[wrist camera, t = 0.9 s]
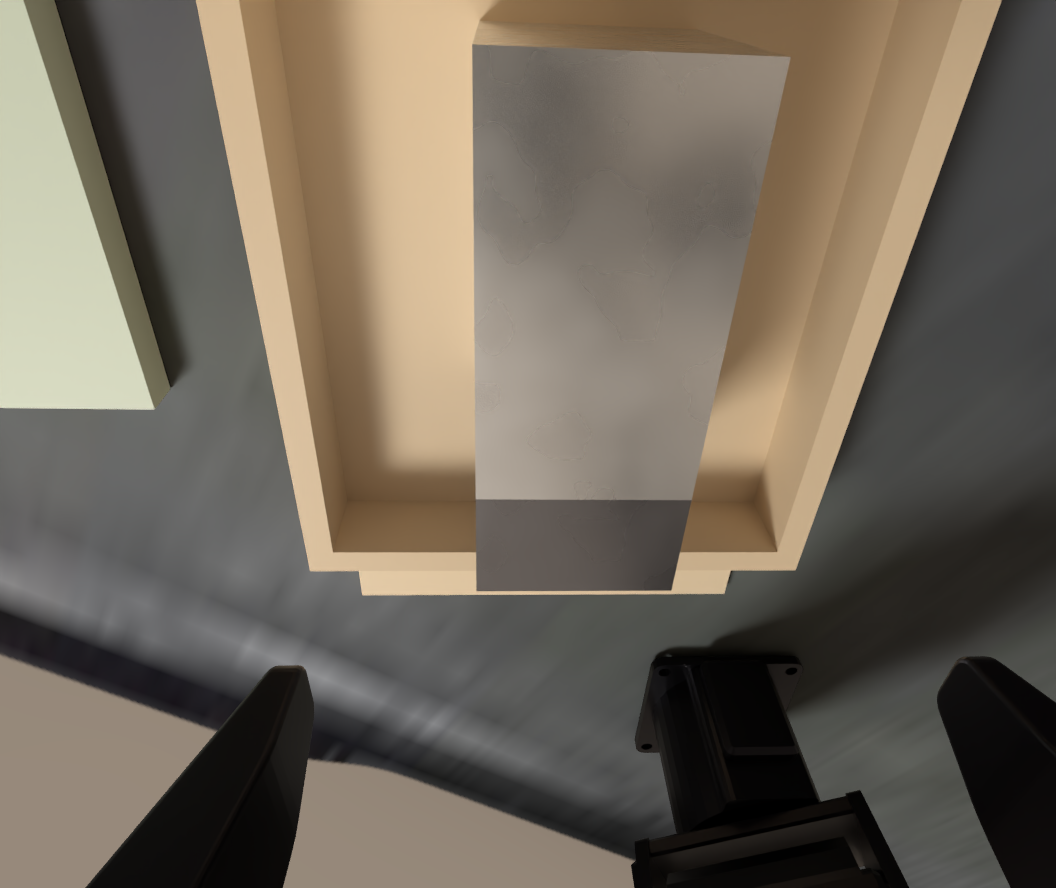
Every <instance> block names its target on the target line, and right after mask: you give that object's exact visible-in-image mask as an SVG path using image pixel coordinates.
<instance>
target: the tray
mask: <svg viewBox="0 0 1056 888" xmlns="http://www.w3.org/2000/svg"><path fill="white" fill-rule="evenodd" d="M1001 1H1002V0H196V3H197V8H198V13H199V18H200V23H201V28H202V33H203V38H204V43H205V48H206V53H207V58H208V63H209V68H210V73H211V78H212V83H213V88H214V93H215V98H216V103H217V108H218V113H219V118H220V123H221V128H222V133H223V138H224V143H225V148H226V153H227V158H228V163H229V168H230V173H231V178H232V183H233V188H234V193H235V198H236V203H237V208H238V213H239V218H240V223H241V228H242V233H243V238H244V243H245V248H246V253H247V258H248V263H249V268H250V273H251V278H252V283H253V288H254V293H255V298H256V303H257V308H258V313H259V318H260V323H261V328H262V333H263V337H264V342H265V347H266V352H267V357H268V362H269V367H270V372H271V377H272V382H273V387H274V392H275V397H276V402H277V407H278V412H279V417H280V422H281V427H282V432H283V437H284V442H285V447H286V452H287V457H288V462H289V467H290V472H291V477H292V482H293V487H294V492H295V497H296V502H297V507H298V512H299V517H300V522H301V527H302V532H303V537H304V542H305V547H306V552H307V557H308V562H309V567H310V571H359V575H360V582H361V589H362V595H541V594H724V592H725V589H726V586H727V582H728V579H729V575H730V572H731V570H796V567H797V565H798V562H799V559H800V556H801V554H802V551H803V548H804V545H805V543H806V540H807V537H808V534H809V531H810V529H811V526H812V523H813V520H814V518H815V515H816V512H817V509H818V507H819V504H820V501H821V498H822V496H823V493H824V490H825V487H826V485H827V482H828V479H829V476H830V473H831V471H832V468H833V465H834V462H835V460H836V457H837V454H838V451H839V449H840V446H841V443H842V440H843V438H844V435H845V432H846V429H847V427H848V424H849V421H850V418H851V415H852V413H853V410H854V407H855V404H856V402H857V399H858V396H859V393H860V391H861V388H862V385H863V382H864V380H865V377H866V374H867V371H868V369H869V366H870V363H871V360H872V357H873V355H874V352H875V349H876V346H877V344H878V341H879V338H880V335H881V333H882V330H883V327H884V324H885V322H886V319H887V316H888V313H889V311H890V308H891V305H892V302H893V299H894V297H895V294H896V291H897V288H898V286H899V283H900V280H901V277H902V275H903V272H904V269H905V266H906V264H907V261H908V258H909V255H910V252H911V250H912V247H913V244H914V241H915V239H916V236H917V233H918V230H919V228H920V225H921V222H922V219H923V217H924V214H925V211H926V208H927V206H928V203H929V200H930V197H931V194H932V192H933V189H934V186H935V183H936V181H937V178H938V175H939V172H940V170H941V167H942V164H943V161H944V159H945V156H946V153H947V150H948V148H949V145H950V142H951V139H952V136H953V134H954V131H955V128H956V125H957V123H958V120H959V117H960V114H961V112H962V109H963V106H964V103H965V101H966V98H967V95H968V92H969V90H970V87H971V84H972V81H973V78H974V76H975V73H976V70H977V67H978V65H979V62H980V59H981V56H982V54H983V51H984V48H985V45H986V43H987V40H988V37H989V34H990V31H991V29H992V26H993V23H994V20H995V18H996V15H997V12H998V9H999V7H1000V4H1001ZM479 20H480V21H505V22H529V23H553V24H577V25H601V26H625V27H649V28H673V29H697V30H701V31H705V32H708V33H711V34H715V35H718V36H721V37H725V38H728V39H732V40H735V41H738V42H742V43H745V44H749V45H752V46H755V47H759V48H762V49H765V50H769V51H772V52H776V53H779V54H782V55H786V56H789V57H791V58H790V62H789V67H788V71H787V76H786V80H785V85H784V89H783V94H782V98H781V102H780V107H779V111H778V116H777V120H776V125H775V129H774V134H773V138H772V143H771V147H770V152H769V156H768V161H767V165H766V170H765V174H764V179H763V183H762V187H761V192H760V196H759V201H758V205H757V210H756V214H755V219H754V223H753V228H752V232H751V237H750V241H749V246H748V250H747V255H746V259H745V264H744V268H743V272H742V277H741V281H740V286H739V290H738V295H737V299H736V304H735V308H734V313H733V317H732V322H731V326H730V331H729V335H728V340H727V344H726V349H725V353H724V357H723V362H722V366H721V371H720V375H719V380H718V384H717V389H716V393H715V398H714V402H713V407H712V411H711V416H710V420H709V425H708V429H707V434H706V438H705V442H704V447H703V451H702V456H701V460H700V465H699V469H698V474H697V478H696V483H695V487H694V492H693V496H692V501H691V505H690V510H689V514H688V519H687V523H686V527H685V532H684V536H683V541H682V545H681V550H680V554H679V559H678V563H677V568H676V572H675V577H674V581H673V586H672V590H671V591H476V474H475V345H474V216H473V87H472V43H473V40H474V37H475V33H476V30H477V27H478V24H479Z"/></svg>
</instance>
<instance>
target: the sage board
mask: <svg viewBox="0 0 1056 888" xmlns="http://www.w3.org/2000/svg"><path fill="white" fill-rule="evenodd" d="M169 390H170V385H169V382H168V379H167V375H166V372H165V369H164V365H163V362H162V358H161V355H160V352H159V348H158V345H157V342H156V338H155V335H154V332H153V328H152V325H151V322H150V318H149V315H148V312H147V308H146V305H145V302H144V298H143V295H142V292H141V288H140V285H139V282H138V278H137V275H136V272H135V268H134V265H133V262H132V258H131V255H130V251H129V248H128V245H127V241H126V238H125V235H124V231H123V228H122V225H121V221H120V218H119V215H118V211H117V208H116V205H115V201H114V198H113V195H112V191H111V188H110V185H109V181H108V178H107V175H106V171H105V168H104V165H103V161H102V158H101V154H100V151H99V148H98V144H97V141H96V138H95V134H94V131H93V128H92V124H91V121H90V118H89V114H88V111H87V108H86V104H85V101H84V98H83V94H82V91H81V88H80V84H79V81H78V78H77V74H76V71H75V68H74V64H73V61H72V57H71V54H70V51H69V47H68V44H67V41H66V37H65V34H64V31H63V27H62V24H61V21H60V17H59V14H58V11H57V7H56V4H55V1H54V0H0V408H60V409H155V408H156V407H157V406H158V404H159V403H160V402H161V401H162V399H163V398H164V397H165V395H166V394H167V393H168V392H169Z"/></svg>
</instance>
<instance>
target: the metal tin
mask: <svg viewBox="0 0 1056 888" xmlns="http://www.w3.org/2000/svg"><path fill="white" fill-rule="evenodd" d="M790 58H791V57H789V56H786V55H782V54H779V53H776V52H772V51H769V50H765V49H762V48H759V47H755V46H752V45H749V44H745V43H742V42H738V41H735V40H732V39H728V38H725V37H721V36H718V35H715V34H711V33H708V32H705V31H701V30H697V29H673V28H649V27H625V26H601V25H577V24H553V23H529V22H505V21H480V20H479V24H478V27H477V30H476V33H475V37H474V40H473V43H472V87H473V216H474V345H475V474H476V591H671V590H672V586H673V581H674V577H675V572H676V568H677V563H678V559H679V554H680V550H681V545H682V541H683V536H684V532H685V527H686V523H687V519H688V514H689V510H690V505H691V501H692V496H693V492H694V487H695V483H696V478H697V474H698V469H699V465H700V460H701V456H702V451H703V447H704V442H705V438H706V434H707V429H708V425H709V420H710V416H711V411H712V407H713V402H714V398H715V393H716V389H717V384H718V380H719V375H720V371H721V366H722V362H723V357H724V353H725V349H726V344H727V340H728V335H729V331H730V326H731V322H732V317H733V313H734V308H735V304H736V299H737V295H738V290H739V286H740V281H741V277H742V272H743V268H744V264H745V259H746V255H747V250H748V246H749V241H750V237H751V232H752V228H753V223H754V219H755V214H756V210H757V205H758V201H759V196H760V192H761V187H762V183H763V179H764V174H765V170H766V165H767V161H768V156H769V152H770V147H771V143H772V138H773V134H774V129H775V125H776V120H777V116H778V111H779V107H780V102H781V98H782V94H783V89H784V85H785V80H786V76H787V71H788V67H789V62H790Z"/></svg>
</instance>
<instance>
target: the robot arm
mask: <svg viewBox="0 0 1056 888" xmlns="http://www.w3.org/2000/svg"><path fill="white" fill-rule="evenodd" d="M802 672H803V667H802V665H801V662H800V660H799V659H798V658H797V657H795V656H739V657H662V658H658V659H655V660H654V661H653V662H652V664H651V667H650V671H649V676H648V681H647V685H646V690H645V694H644V699H643V703H642V708H641V713H640V717H639V722H638V726H637V731H636V736H635V744H636V749H637V750H638V751H639V752H643V753H657V752H660V757H661V762H662V767H663V771H664V776H665V781H666V786H667V791H668V795H669V800H670V805H671V810H672V814H673V819H674V824H675V829H676V833H677V834H674V835H670V836H666V837H661V838H657V839H652V840H649V838H644V839H640V840H636V841H635V853H636V861H635V862H634V863H633V864H632V865H631V868H632V875H633V881H634V887H635V888H909V886H908V884H907V882H906V880H905V878H904V876H903V874H902V872H901V870H900V868H899V866H898V864H897V862H896V860H895V858H894V856H893V854H892V852H891V850H890V848H889V846H888V844H887V843H886V841H885V839H884V837H883V835H882V833H881V831H880V829H879V827H878V825H877V823H876V821H875V819H874V817H873V815H872V813H871V811H870V809H869V807H868V805H867V803H866V801H865V799H864V797H863V795H862V793H861V791H860V790H858V791H854V792H849V793H846V796H844V797H840V798H835V799H831V800H826V801H822V802H821V801H820V798H819V796H818V793H817V791H816V788H815V785H814V783H813V780H812V778H811V775H810V773H809V770H808V768H807V765H806V762H805V760H804V757H803V755H802V752H801V750H800V747H799V745H798V742H797V739H796V737H795V734H794V732H793V729H792V727H791V724H790V722H789V719H788V717H787V714H786V710H787V708H788V705H789V703H790V700H791V698H792V696H793V693H794V691H795V689H796V686H797V684H798V681H799V679H800V677H801V674H802ZM937 704H938V709H939V712H940V715H941V718H942V721H943V723H944V726H945V729H946V732H947V735H948V737H949V740H950V743H951V746H952V748H953V751H954V754H955V757H956V759H957V762H958V765H959V768H960V771H961V773H962V776H963V779H964V782H965V784H966V787H967V790H968V793H969V795H970V798H971V801H972V804H973V806H974V809H975V811H976V814H977V816H978V819H979V821H980V823H981V825H982V828H983V830H984V832H985V834H986V837H987V839H988V841H989V843H990V845H991V847H992V849H993V852H994V854H995V856H996V858H997V860H998V862H999V864H1000V866H1001V869H1002V871H1003V873H1004V875H1005V877H1006V879H1007V881H1008V883H1009V885H1010V888H1056V702H1054V701H1053V700H1051V699H1050V698H1049V697H1047V696H1046V695H1045V694H1043V693H1042V692H1040V691H1039V690H1038V689H1036V688H1035V687H1034V686H1032V685H1031V684H1029V683H1028V682H1027V681H1025V680H1024V679H1023V678H1021V677H1020V676H1018V675H1017V674H1016V673H1014V672H1013V671H1012V670H1010V669H1009V668H1007V667H1006V666H1005V665H1003V664H1002V663H1000V662H999V661H997V660H996V659H993V658H991V657H985V656H980V657H962V658H960V659H958V660H957V661H956V662H955V664H954V666H953V667H952V669H951V671H950V672H949V674H948V676H947V677H946V679H945V681H944V682H943V684H942V686H941V687H940V689H939V691H938V695H937ZM313 720H314V702H313V697H312V693H311V689H310V685H309V681H308V677H307V673H306V670H305V669H304V667H302V666H299V665H295V666H275V667H273V668H271V669H270V670H269V671H268V672H267V673H266V674H265V675H264V676H263V678H262V679H261V680H260V681H259V682H258V683H257V685H256V686H255V687H254V688H253V689H252V691H251V692H250V693H249V694H248V695H247V697H246V698H245V699H244V700H243V701H242V702H241V704H240V705H239V706H238V707H237V708H236V710H235V711H234V712H233V713H232V714H231V716H230V717H229V718H228V719H227V720H226V721H225V723H224V724H223V725H222V726H221V727H220V729H219V730H218V731H217V732H216V733H215V735H214V736H213V737H212V738H211V739H210V741H209V742H208V743H207V744H206V745H205V747H204V748H203V749H202V750H201V751H200V752H199V754H198V755H197V756H196V757H195V758H194V760H193V761H192V762H191V763H190V764H189V766H188V767H187V768H186V769H185V770H184V771H183V773H182V774H181V775H180V776H179V777H178V779H177V780H176V781H175V782H174V783H173V784H172V786H171V787H170V788H169V789H168V791H167V792H166V793H165V794H164V795H163V796H162V797H161V799H160V800H159V801H158V802H157V803H156V805H155V806H154V807H153V808H152V809H151V811H150V812H149V813H148V814H147V815H146V817H145V818H144V819H143V820H142V821H141V822H140V824H139V825H138V826H137V827H136V828H135V830H134V831H133V832H132V833H131V834H130V836H129V837H128V838H127V839H126V840H125V841H124V843H123V844H122V845H121V846H120V847H119V849H118V850H117V851H116V852H115V853H114V854H113V856H112V857H111V858H110V859H109V860H108V862H107V863H106V864H105V865H104V866H103V868H102V869H101V870H100V871H99V872H98V873H97V875H96V876H95V877H94V878H93V879H92V881H91V882H90V883H89V884H88V886H87V887H86V888H283V885H284V881H285V877H286V873H287V869H288V865H289V861H290V858H291V854H292V850H293V845H294V841H295V837H296V831H297V825H298V819H299V813H300V806H301V800H302V794H303V787H304V780H305V774H306V767H307V760H308V754H309V747H310V740H311V734H312V727H313ZM862 866H865V868H866V869H862V870H860V868H859V867H862Z"/></svg>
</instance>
